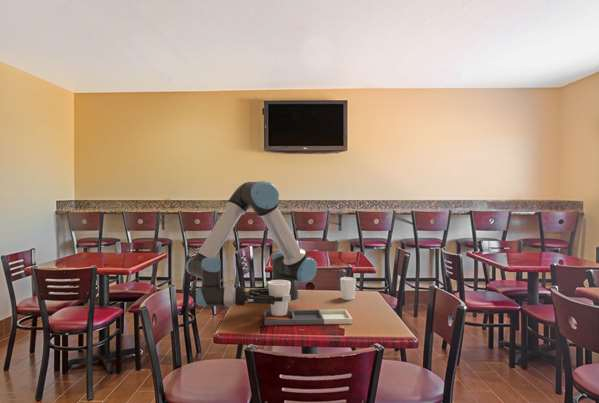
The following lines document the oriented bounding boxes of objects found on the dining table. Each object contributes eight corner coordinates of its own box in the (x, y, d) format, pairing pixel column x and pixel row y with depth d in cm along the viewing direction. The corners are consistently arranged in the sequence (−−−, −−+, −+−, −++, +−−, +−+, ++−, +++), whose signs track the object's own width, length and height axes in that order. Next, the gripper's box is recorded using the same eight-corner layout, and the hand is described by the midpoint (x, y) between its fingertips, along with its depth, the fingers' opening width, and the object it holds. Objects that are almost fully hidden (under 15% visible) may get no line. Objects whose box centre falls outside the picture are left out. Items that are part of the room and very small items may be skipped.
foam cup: (291, 310, 169) (291, 280, 169) (289, 317, 160) (289, 285, 160) (269, 309, 170) (269, 279, 170) (265, 316, 161) (265, 284, 161)
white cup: (337, 299, 199) (337, 279, 199) (343, 295, 206) (343, 276, 206) (352, 301, 195) (352, 280, 195) (357, 297, 202) (358, 278, 202)
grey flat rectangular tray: (264, 325, 158) (264, 320, 158) (264, 315, 171) (264, 310, 171) (352, 323, 161) (352, 318, 161) (345, 313, 174) (345, 309, 174)
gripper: (237, 298, 174) (288, 297, 176) (233, 313, 152) (291, 312, 154) (237, 281, 174) (288, 280, 176) (233, 293, 152) (291, 292, 154)
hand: (289, 295), depth 165 cm, fingers closed on foam cup, 9 cm apart
